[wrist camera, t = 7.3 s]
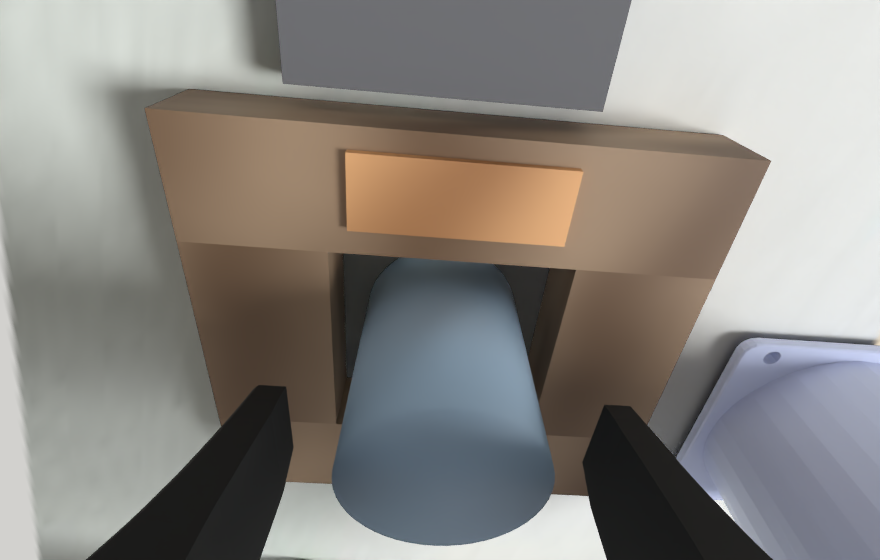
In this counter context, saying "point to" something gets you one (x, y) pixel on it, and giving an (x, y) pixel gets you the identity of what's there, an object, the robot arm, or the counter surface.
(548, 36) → the mat
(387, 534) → the peg
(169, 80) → the counter surface
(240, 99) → the socket plate
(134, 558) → the robot arm
